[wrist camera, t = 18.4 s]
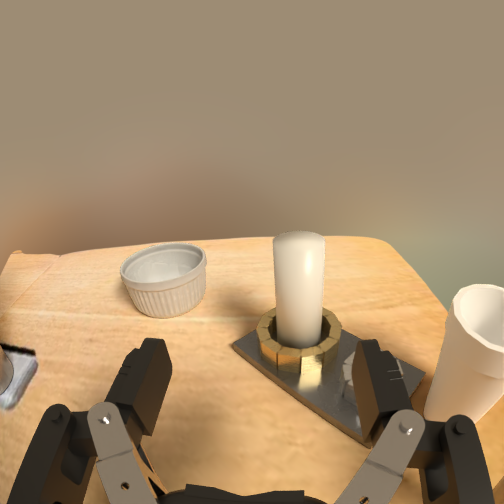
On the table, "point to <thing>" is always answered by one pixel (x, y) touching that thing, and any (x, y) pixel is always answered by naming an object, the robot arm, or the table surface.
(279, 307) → the white rounded cylinder
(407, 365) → the grey ring holder base
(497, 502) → the ice cream cone
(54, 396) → the table surface
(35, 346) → the table surface
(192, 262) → the ramekin
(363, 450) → the table surface
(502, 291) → the foam cup
